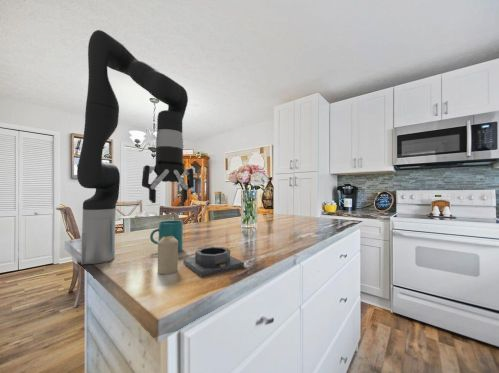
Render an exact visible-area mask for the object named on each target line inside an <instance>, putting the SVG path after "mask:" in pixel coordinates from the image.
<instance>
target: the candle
mask: <svg viewBox="0 0 499 373" xmlns="http://www.w3.org/2000/svg"><path fill="white" fill-rule="evenodd" d="M157 242H158V241H157ZM178 263H179V252H178V240H177V239H176V238H174V237H173V236H167V237H163V238H162V239H161V240H160V241H159V242H158V244H157V273H158V274H159V275H170V274H174V273H176V272H178V270H179V269H178V268H179V264H178Z"/></svg>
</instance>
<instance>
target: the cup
mask: <svg viewBox="0 0 499 373" xmlns="http://www.w3.org/2000/svg"><path fill="white" fill-rule="evenodd" d="M157 232H158V237H157V238H158V239H157V240H158V241H156V240H155V239H154V234H155V233H157ZM167 236H173V237H174V238H176V239H177V240H178V253H179V252H181V251H182V250H183V247H184V246H183V245H184V238H183V237H184V222H183V221H181V220H164V221H159V222H158V228H156V229H154V230H152V231H151V233H150V235H149V239H150V241H151V242H152V244H155V245H158V242H159V241H160V240H161V239H162V238H163V237H167Z"/></svg>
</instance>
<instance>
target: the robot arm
mask: <svg viewBox="0 0 499 373" xmlns="http://www.w3.org/2000/svg"><path fill="white" fill-rule="evenodd" d="M87 60H88V61H87V62H88V64H87V65H88V66H87V67H88V82H87V93H86V94H87V95H86V102H85V113H84V127H83V128H84V129H83V130H84V131H83V135H82V136H83V139H82V144H81V149H80V153H79V154H80V155H79V157H78V158H79V159H78V164H77V169H76V177H77V182H78V183H79V185H80V186H81V187H82V188H85V189H95V192H94V194H93V195H92V196H91V197H89V198H87V199H85V200H84V201H83V202H82V225H81V226H82V227H81V247H80V248H81V253H80V256H81V257H80V265H82V266H83V265H93V264H94V265H95V264H102V263H106V262H109V261H112V260H114V259H115V258H116V257H115V253H116V251H115V250H116V247H115V246H116V214H117V213H116V210H117V209H116V208H117V207H116V206H117V203H118V200H119V196H120V195H119V194H120V184H121V183H120V182H121V174H120V173H121V172H120V170H119V168H118V167H117V165H115V164H114V163H111V162H106V161H102V158H103V152H104V147H105V144H106V143H107V141H108V140H109V139H110V137H111V136H112V135H113V134H114V133H115V131H116V130H117V128H118V124H119V116H120V115H119V114H120V106H119V101H118V98H117V96H116V94H115V91H114V89H113V86H112V85H111V84H112V83H111V81H110V79H109V74H108V68H109V69H111V70H114V71H116V72H119V73H122V74H123V75H127V76H129V77H130V78H131V79H132V81H133V82H135V84H137V85H138V86H140V87H141V88H142V89H144V90H146V91H147V92H148V93H149V94H150V96H152V97H153V98H155V99H156V100H158V101H159V102H162V103H163V104H166V105H167V106H168V107H167V109H165V110H161V111H159V112H158V114H157V119H156V120H157V125H156V128H157V130H156V138H155V164H154V166H149V165H147V164H146V165H144V166H143V167H142V178H141V186H142V187H143V188H145V189H148V200H149V201H150V202H151V204H156V202H157V195H156V194H157V189H156V188H157V186H158V185H159V184H160V183H163V182H164V183H166V182H170V183H177V185H178V186H179V187H180V188H181V190H180V202H181V203H186V201H187V200H188V192H189V189H193V188H194V186H195V185H194V182H195V181H194V169H193V168H192V167H191V168H184V167H183V164H184V163H183V161H184V160H183V159H184V139H183V119H184V116H185V113H186V110H187V107H188V102H189V96H188V92H187V90H186V89H185V87H183V86H182V85H181V84H179V83H178V82H177V81H175V80H173V79H172V78H171V77H169V76H167V75H166V74H165V73H162V72H160V71H159V70H158V69H156V68H155V67H153V66H152V65H149V64H148V63H146V62H145V61H142V60H139V59H138V58H136V57H135V56H134V55H133V54H132V52H130V50H128V49H127V47H126V46H125V45H124V44H122V43H121V42H120V41H119V40H117V39H115V38H114V37H113V36H111V35H110V34H108V33H107V32H105V31H103V30H101V29H96V30H95V31H93V32H92V34H90V37H89V41H88V46H87ZM153 172H154V173H155V174H156V177H155V178H154V179H153V180H152V182H150V183H149V179H150V174H152V173H153ZM183 174H184V175H185V176H186V182H185V179H184V178H183V177H182V176H183Z"/></svg>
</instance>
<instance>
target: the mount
mask: <svg viewBox="0 0 499 373" xmlns="http://www.w3.org/2000/svg"><path fill="white" fill-rule="evenodd" d="M182 263H183V265H185V267H187V268H188V269H190V270H191V271H192V272H194V274H197V275H198V276H199V277H200V278H204V277H208V276H213V275H217V274H220V273H225V272H228V271H233V270H237V269H241V268H245V262H244V261H242V260H240V259H238V258H236V257H233V256H231V249H228V248H226V247H222V246H210V247H209V246H208V247H203V248H201V247H200V248H199V249H197V250H196V251H195V254H194V256H193V257H186V258H183V262H182Z"/></svg>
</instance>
